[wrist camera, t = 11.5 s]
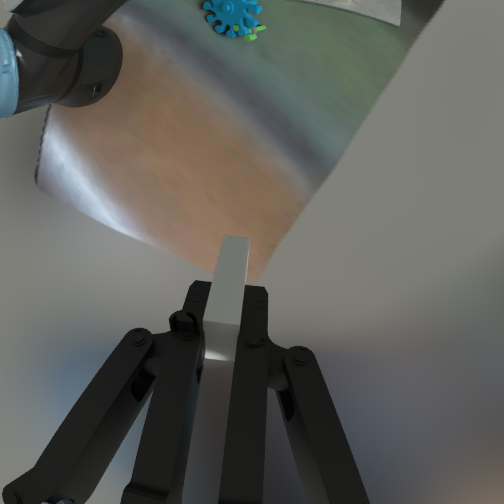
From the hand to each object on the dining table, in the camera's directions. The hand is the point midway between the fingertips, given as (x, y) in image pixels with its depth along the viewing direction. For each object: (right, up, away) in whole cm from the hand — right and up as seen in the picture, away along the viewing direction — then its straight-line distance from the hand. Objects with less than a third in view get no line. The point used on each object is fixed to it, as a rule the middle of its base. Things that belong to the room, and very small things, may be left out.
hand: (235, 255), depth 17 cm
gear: (-1, +34, +13) cm, 37 cm away
